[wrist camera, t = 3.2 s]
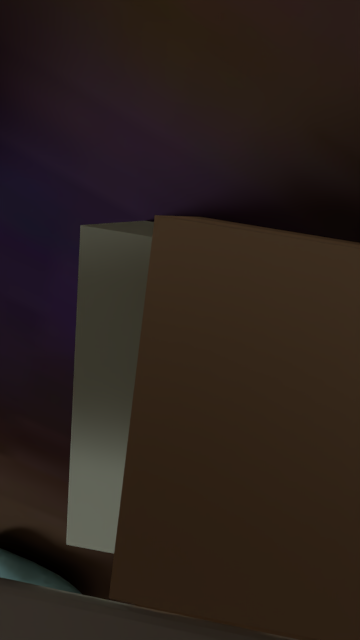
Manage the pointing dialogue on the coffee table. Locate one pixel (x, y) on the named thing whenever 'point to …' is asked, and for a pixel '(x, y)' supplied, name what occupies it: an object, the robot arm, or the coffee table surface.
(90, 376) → the door panel
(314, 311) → the wooden stand
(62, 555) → the coffee table surface
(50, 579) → the penguin figurine
